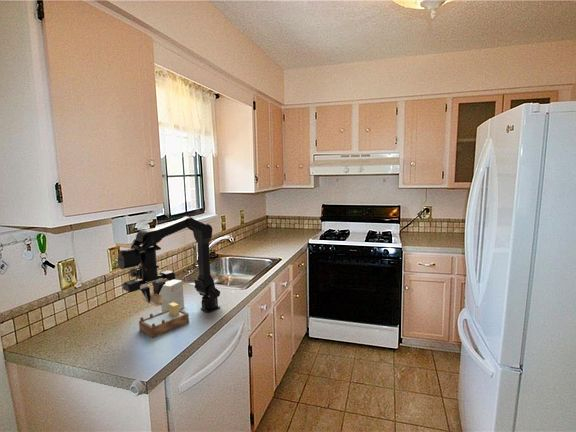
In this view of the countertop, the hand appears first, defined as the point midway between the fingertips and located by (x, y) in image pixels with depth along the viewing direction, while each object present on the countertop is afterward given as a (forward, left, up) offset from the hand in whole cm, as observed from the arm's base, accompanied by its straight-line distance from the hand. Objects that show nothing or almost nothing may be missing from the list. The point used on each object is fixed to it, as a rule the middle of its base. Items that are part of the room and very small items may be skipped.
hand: (152, 301), depth 128 cm
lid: (-5, -1, -9) cm, 11 cm away
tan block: (0, 0, 0) cm, 0 cm away
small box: (-16, -13, -13) cm, 24 cm away
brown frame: (-5, -1, -12) cm, 13 cm away
